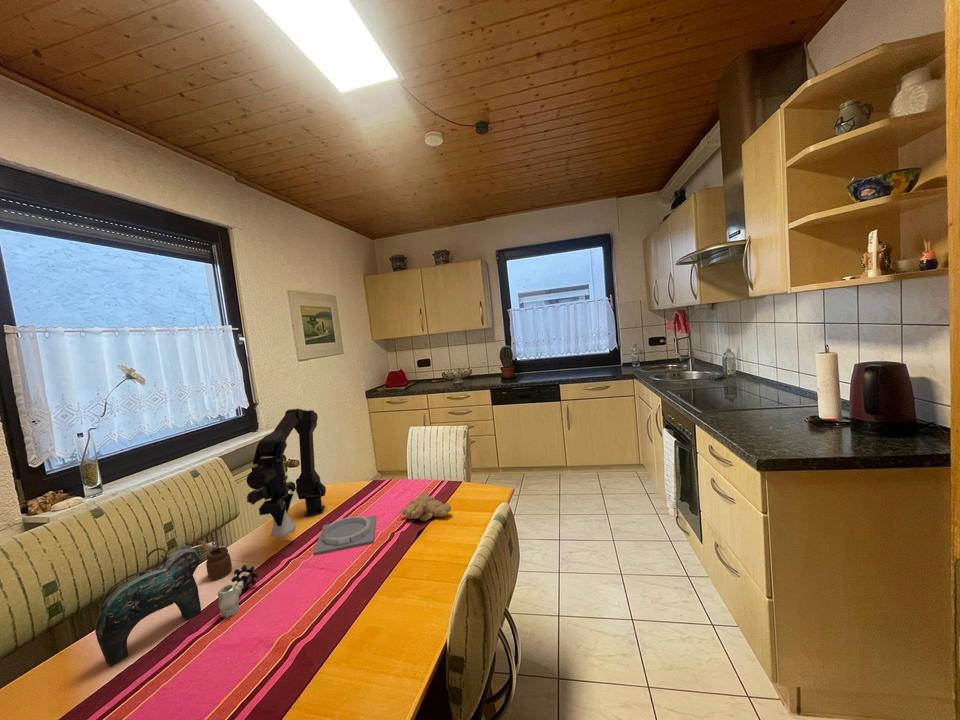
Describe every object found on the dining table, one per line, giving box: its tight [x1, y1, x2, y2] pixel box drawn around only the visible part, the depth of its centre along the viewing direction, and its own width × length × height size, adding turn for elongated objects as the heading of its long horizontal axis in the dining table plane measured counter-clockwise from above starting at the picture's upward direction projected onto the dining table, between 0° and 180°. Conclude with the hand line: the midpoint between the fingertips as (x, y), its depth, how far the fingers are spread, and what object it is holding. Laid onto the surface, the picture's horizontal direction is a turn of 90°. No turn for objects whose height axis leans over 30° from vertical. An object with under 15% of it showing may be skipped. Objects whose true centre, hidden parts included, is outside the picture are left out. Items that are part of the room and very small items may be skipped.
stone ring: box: [322, 515, 371, 546], centre depth 129 cm, size 15×15×2 cm
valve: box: [217, 564, 260, 619], centre depth 100 cm, size 7×7×12 cm
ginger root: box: [399, 491, 452, 522], centre depth 137 cm, size 16×16×8 cm
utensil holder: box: [200, 534, 233, 581], centre depth 113 cm, size 6×6×12 cm
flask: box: [270, 502, 296, 539], centre depth 126 cm, size 7×7×10 cm
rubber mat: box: [312, 515, 377, 556], centre depth 129 cm, size 18×18×1 cm
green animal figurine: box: [94, 541, 202, 667], centre depth 90 cm, size 20×6×20 cm, turn 150°
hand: (282, 522), depth 127 cm, fingers closed on flask, 5 cm apart
